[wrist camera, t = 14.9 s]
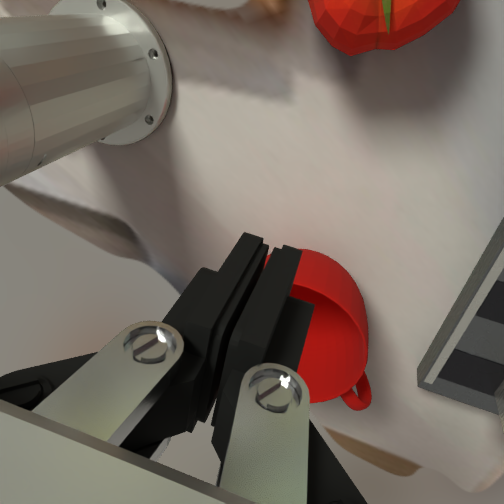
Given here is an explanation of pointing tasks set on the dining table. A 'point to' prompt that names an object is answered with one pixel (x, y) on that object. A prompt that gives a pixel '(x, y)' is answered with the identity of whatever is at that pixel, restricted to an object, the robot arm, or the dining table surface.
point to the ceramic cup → (332, 332)
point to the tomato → (377, 22)
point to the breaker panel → (472, 339)
